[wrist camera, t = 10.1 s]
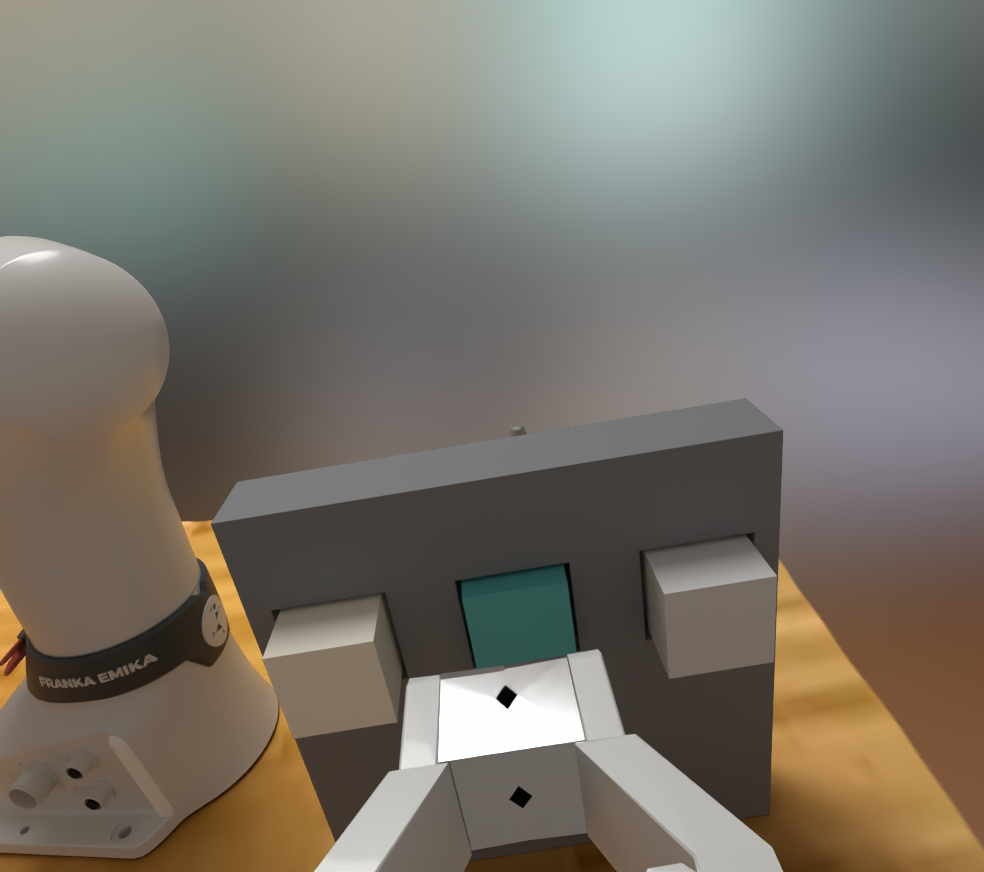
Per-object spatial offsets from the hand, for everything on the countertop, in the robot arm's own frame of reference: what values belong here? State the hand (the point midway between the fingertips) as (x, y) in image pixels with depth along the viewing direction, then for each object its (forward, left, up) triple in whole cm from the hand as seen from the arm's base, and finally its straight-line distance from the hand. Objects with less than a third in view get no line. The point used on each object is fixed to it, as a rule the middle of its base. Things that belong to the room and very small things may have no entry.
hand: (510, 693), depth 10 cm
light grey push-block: (+9, +18, -16) cm, 26 cm away
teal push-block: (0, +20, -16) cm, 26 cm away
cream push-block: (-9, +18, -16) cm, 26 cm away
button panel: (0, +20, -32) cm, 38 cm away
